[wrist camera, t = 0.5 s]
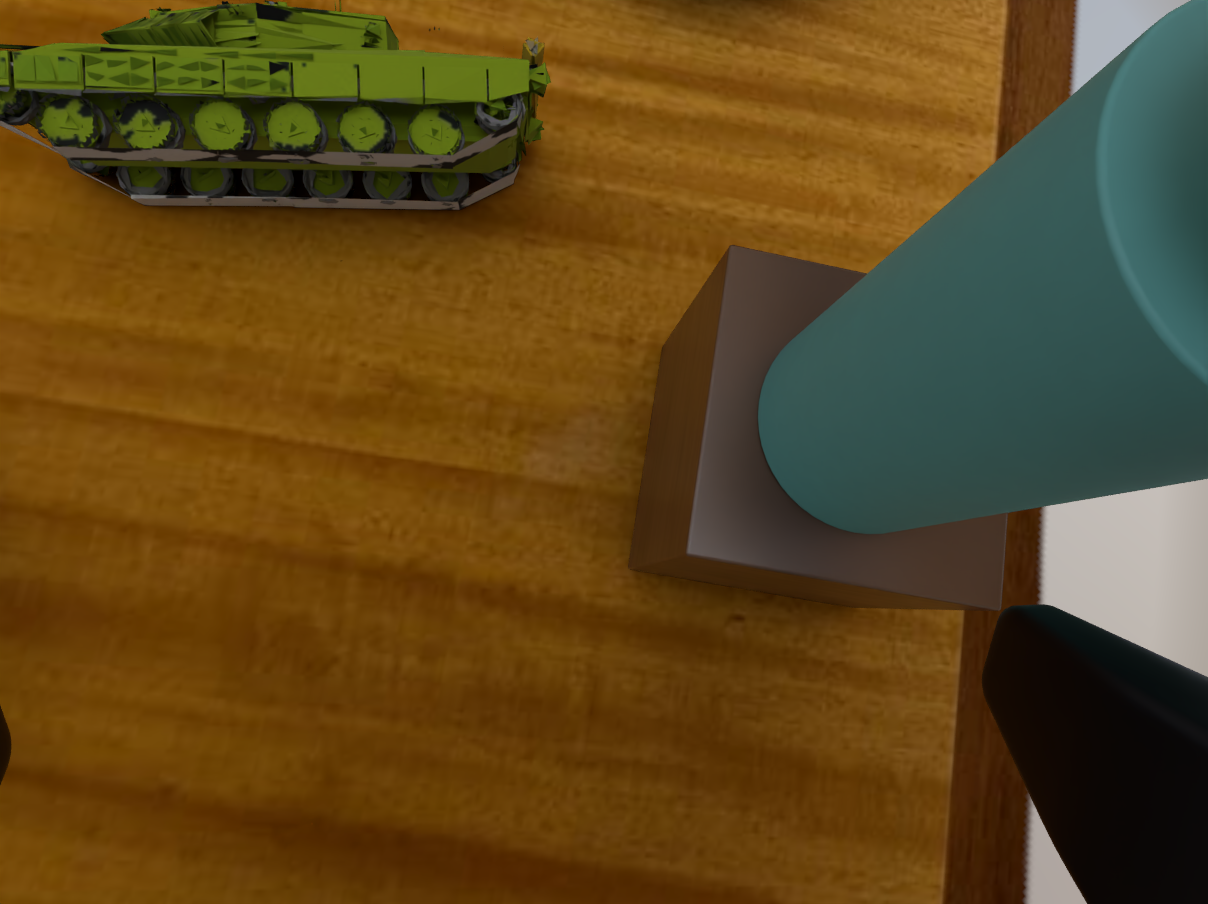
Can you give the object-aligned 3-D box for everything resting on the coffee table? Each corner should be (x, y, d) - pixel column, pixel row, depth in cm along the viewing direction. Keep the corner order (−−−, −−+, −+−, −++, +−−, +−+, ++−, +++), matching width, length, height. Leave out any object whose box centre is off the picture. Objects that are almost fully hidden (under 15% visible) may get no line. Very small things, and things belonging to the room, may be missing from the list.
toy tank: (560, 232, 18) (552, -242, 18) (-435, 219, 16) (-470, -328, 15) (543, 284, 25) (537, -55, 25) (-148, 281, 23) (-167, -94, 22)
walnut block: (874, 388, 24) (1023, 305, 18) (852, 608, 23) (1002, 611, 16) (662, 345, 24) (729, 242, 17) (627, 569, 23) (684, 556, 16)
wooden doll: (975, 341, 17) (2534, -495, 4) (958, 552, 16) (2860, 356, 3) (771, 298, 17) (1774, -790, 4) (743, 513, 16) (1914, 106, 3)
